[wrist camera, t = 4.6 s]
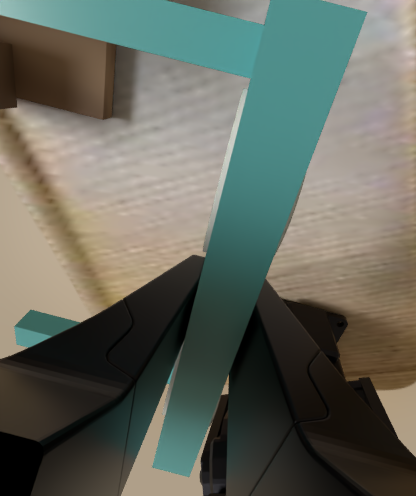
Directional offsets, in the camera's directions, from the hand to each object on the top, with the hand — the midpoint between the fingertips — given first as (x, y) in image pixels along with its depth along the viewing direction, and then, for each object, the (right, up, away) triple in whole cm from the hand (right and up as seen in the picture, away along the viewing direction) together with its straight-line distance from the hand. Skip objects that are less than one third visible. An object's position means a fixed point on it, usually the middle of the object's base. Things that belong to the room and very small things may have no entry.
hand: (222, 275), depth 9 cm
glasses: (-3, +2, +1) cm, 3 cm away
